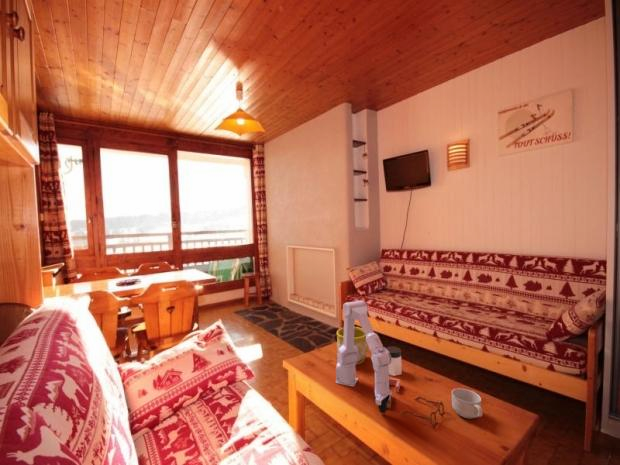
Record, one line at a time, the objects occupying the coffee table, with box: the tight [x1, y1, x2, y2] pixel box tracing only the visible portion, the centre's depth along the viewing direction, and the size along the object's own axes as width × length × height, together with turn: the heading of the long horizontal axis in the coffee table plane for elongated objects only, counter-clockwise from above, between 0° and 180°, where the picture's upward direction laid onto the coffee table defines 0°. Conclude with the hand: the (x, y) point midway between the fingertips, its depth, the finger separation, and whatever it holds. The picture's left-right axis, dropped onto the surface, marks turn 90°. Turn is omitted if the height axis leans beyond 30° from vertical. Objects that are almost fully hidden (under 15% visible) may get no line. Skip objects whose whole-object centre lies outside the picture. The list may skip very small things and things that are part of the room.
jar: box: [385, 346, 403, 377], centre depth 156 cm, size 9×8×12 cm
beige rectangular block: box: [386, 388, 392, 409], centre depth 131 cm, size 3×9×4 cm, turn 162°
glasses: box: [400, 396, 445, 427], centre depth 122 cm, size 13×13×5 cm
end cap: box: [389, 376, 401, 394], centre depth 141 cm, size 7×7×3 cm
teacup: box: [451, 387, 484, 420], centre depth 119 cm, size 14×11×8 cm
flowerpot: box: [336, 326, 369, 366], centre depth 171 cm, size 18×18×16 cm
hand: (382, 411), depth 122 cm, fingers closed
